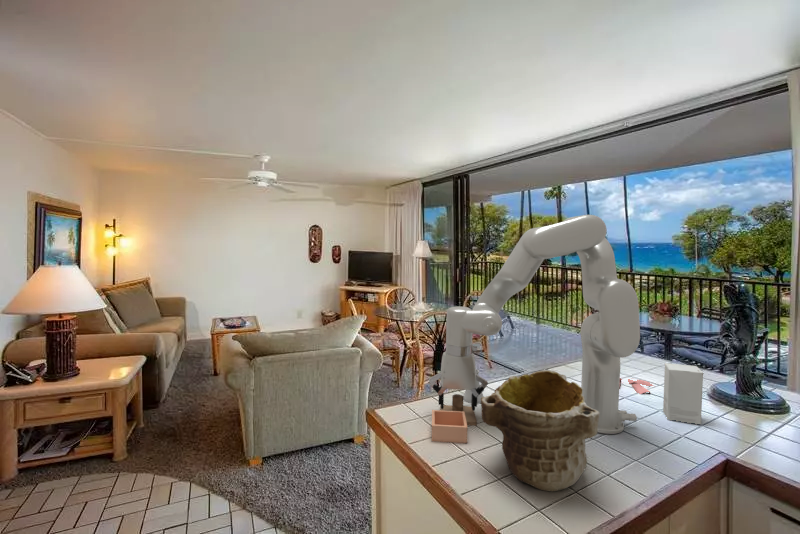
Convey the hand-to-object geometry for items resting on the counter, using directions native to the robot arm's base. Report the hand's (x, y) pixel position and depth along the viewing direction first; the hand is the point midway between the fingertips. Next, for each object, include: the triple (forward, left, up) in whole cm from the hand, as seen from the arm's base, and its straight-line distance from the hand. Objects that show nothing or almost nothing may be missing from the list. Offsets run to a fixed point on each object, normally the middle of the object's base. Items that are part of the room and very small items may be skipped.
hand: (457, 407), depth 109 cm
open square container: (+3, +10, -3) cm, 11 cm away
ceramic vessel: (-15, +24, -3) cm, 29 cm away
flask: (-6, -13, -3) cm, 15 cm away
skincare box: (-66, -7, -3) cm, 67 cm away
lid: (0, 0, -3) cm, 3 cm away
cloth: (-63, -32, -4) cm, 70 cm away
